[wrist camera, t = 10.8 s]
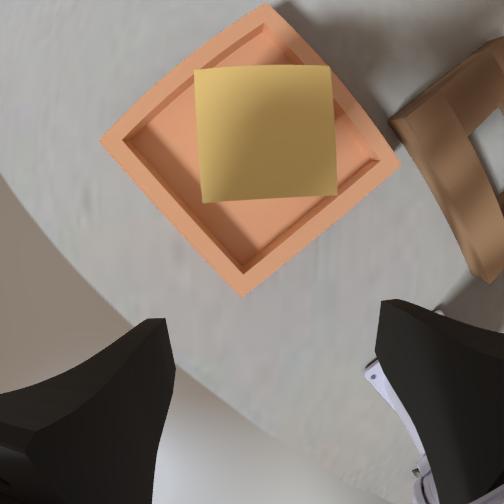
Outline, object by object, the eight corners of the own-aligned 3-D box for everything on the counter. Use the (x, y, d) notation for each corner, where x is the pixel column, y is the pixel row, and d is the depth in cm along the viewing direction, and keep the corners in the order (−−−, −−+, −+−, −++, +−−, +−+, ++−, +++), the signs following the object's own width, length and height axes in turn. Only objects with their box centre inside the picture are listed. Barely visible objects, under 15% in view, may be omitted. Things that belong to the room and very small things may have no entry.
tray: (383, 163, 19) (402, 164, 16) (240, 281, 21) (241, 298, 18) (262, 19, 16) (266, 2, 14) (114, 142, 18) (98, 140, 15)
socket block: (550, 177, 19) (568, 181, 17) (471, 273, 22) (489, 284, 19) (488, 41, 16) (507, 35, 14) (387, 121, 18) (405, 117, 16)
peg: (286, 108, 17) (329, 66, 8) (290, 177, 18) (337, 195, 9) (214, 112, 17) (193, 69, 8) (219, 181, 18) (202, 203, 9)
